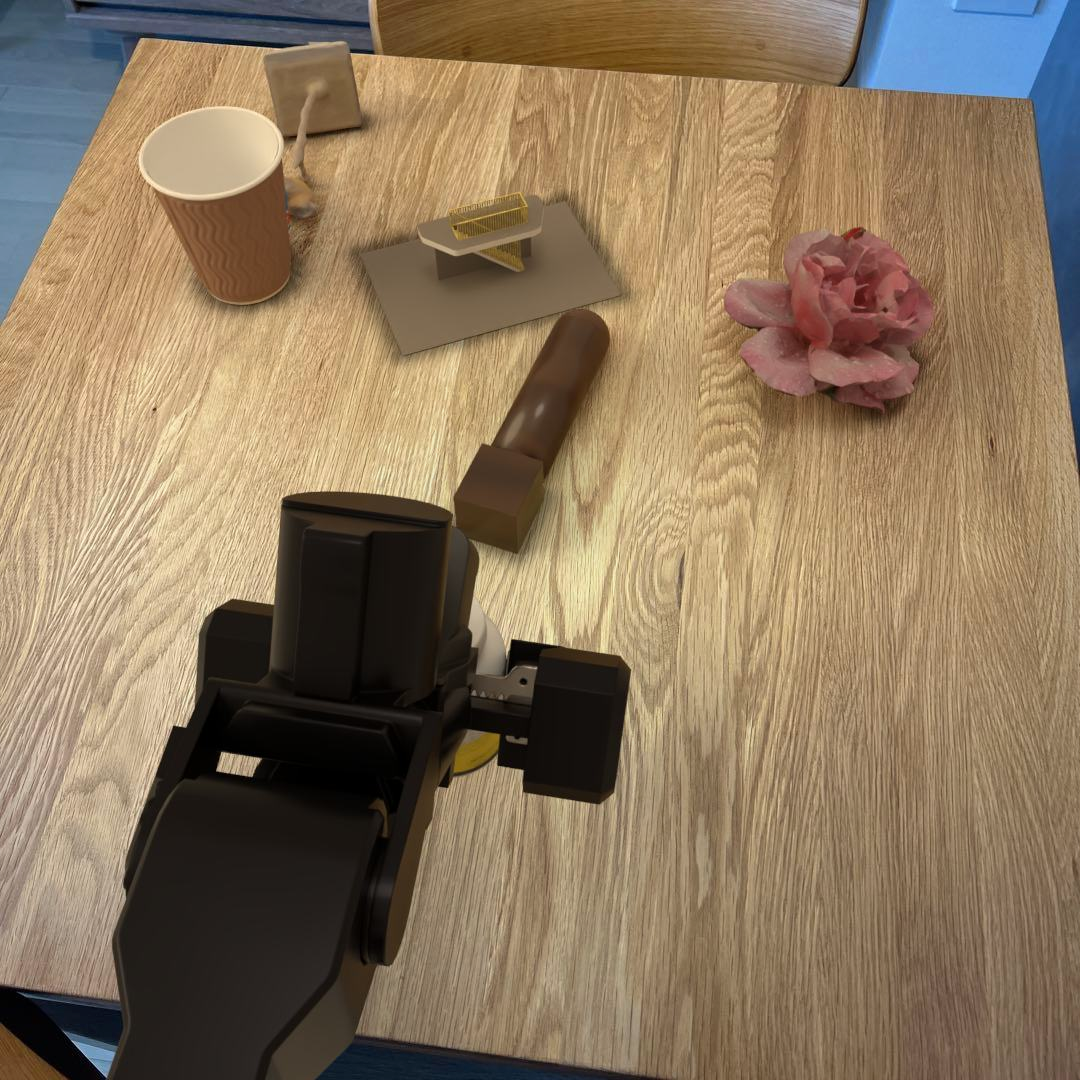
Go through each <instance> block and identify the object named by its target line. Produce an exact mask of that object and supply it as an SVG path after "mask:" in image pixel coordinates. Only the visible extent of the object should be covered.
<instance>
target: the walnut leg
mask: <svg viewBox="0 0 1080 1080" xmlns="http://www.w3.org/2000/svg"><path fill="white" fill-rule="evenodd" d="M610 344H611V333H610V329H609V327H608V324H607V322H606V321H605V319H603V317H602V316H601V315H600V314H598V313H597V312H595V311H593V310H591V309H587V308H573V309H570V310H568V311H566V312H565V313H563V314H562V315H561V316H560V317H559V318H558V319H557V320H556V322H555V323H554V324H553V326H552V328H551V330H550V332H549V334H548V336H547V338H546V340H545V341H544V344H543V345H542V348H541V349H540V351H539V353H538V355H537V357H536V359H535V361H534V362H533V364H532V366H531V368H530V370H529V371H528V374H527V376H526V377H525V380H524V381H523V384H522V385H521V387H520V389H519V391H518V393H517V395H516V396H515V399H514V400H513V402H512V404H511V406H510V408H509V410H508V411H507V413H506V415H505V417H504V419H503V421H502V423H501V425H500V427H499V429H498V431H497V432H496V435H495V436H494V438H493V440H492V442H491V444H487V443H483V442H482V443H481V444H480V446H479V447H478V450H477V452H476V453H475V455H474V457H473V459H472V461H471V463H470V465H469V466H468V468H467V470H466V472H465V474H464V476H463V478H462V479H461V482H460V484H459V485H458V488H457V489H456V491H455V492H454V495H453V505H454V513H455V515H454V516H455V522H456V527H457V528H459V529H460V530H462V531H463V532H464V534H465V535H466V536H467V537H468V538H469V539H470V540H473V541H476V542H479V543H481V544H485V545H488V546H491V547H495V548H497V549H500V550H503V551H507V552H510V553H512V554H516V555H518V554H519V553H520V550H521V548H522V546H523V544H524V543H525V539H526V538H527V535H528V534H529V531H530V530H531V527H532V525H533V523H534V521H535V520H536V517H537V515H538V514H539V511H540V509H541V506H542V504H543V502H544V484H545V482H546V480H547V477H548V475H549V473H550V472H551V470H552V467H553V465H554V463H555V461H556V460H557V457H558V455H559V453H560V451H561V449H562V446H563V444H564V443H565V441H566V439H567V437H568V434H569V432H570V430H571V428H572V426H573V424H574V422H575V420H576V418H577V416H578V413H579V411H580V409H581V408H582V405H583V403H584V401H585V400H586V397H587V395H588V393H589V391H590V389H591V387H592V384H593V382H594V380H595V379H596V376H597V374H598V372H599V370H600V368H601V366H602V364H603V363H604V360H605V359H606V358H605V357H606V355H607V354H608V352H609V349H610V346H611V345H610Z"/></svg>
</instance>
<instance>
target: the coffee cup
mask: <svg viewBox="0 0 1080 1080" xmlns="http://www.w3.org/2000/svg"><path fill="white" fill-rule="evenodd" d="M284 151H285V141H284V136H282V134H281V132H280V130H279V127H278V125H276V124H275V123H274V122H273V121H272V120H271V119H269V118H268V117H267V116H265V115H263V114H262V113H260V112H257V111H255V110H252V109H248V108H244V107H240V106H239V107H238V106H229V105H217V106H216V105H215V106H206V107H201V108H196V109H192V110H188V111H186V112H185V111H184V112H183V113H180V114H177V115H175V116H173V117H171V118H169V119H167V120H166V121H164V122H163V123H161V124H159V125H158V126H157V127H155V129H154V130H152V131H151V133H150V134H148V135H147V137H146V138H145V140H144V142H143V143H142V145H141V147H140V151H139V153H138V168H139V171H140V173H141V175H142V177H143V178H144V180H145V181H146V182H147V183H148V184H149V185H150V186H151V187H152V190H153V191H154V193H155V195H156V198H157V199H158V201H159V203H160V205H161V207H162V209H163V211H164V212H165V215H166V217H167V219H168V221H169V223H170V225H171V226H172V229H173V230H174V232H175V234H176V236H177V238H178V240H179V242H180V244H181V247H182V248H183V250H184V252H185V253H186V256H187V257H188V260H189V262H190V263H191V266H192V267H193V269H194V272H195V273H196V275H197V277H198V279H199V281H200V282H201V284H202V285H204V288H205V289H206V291H207V292H208V293H209V294H210V295H211V296H212V297H213V298H215V299H217V301H220V302H222V303H225V304H230V305H239V306H243V305H244V306H247V305H253V304H259V303H261V302H263V301H267V300H268V299H270V298H272V297H274V296H275V295H277V294H278V293H279V292H280V291H282V289H284V287H286V285H287V283H288V281H289V280H290V276H291V264H292V250H291V240H290V232H289V231H290V229H291V220H290V215H289V212H288V204H287V197H286V189H285V183H284V176H285V175H284V166H283V165H284V164H283V156H284Z"/></svg>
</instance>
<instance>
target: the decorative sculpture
mask: <svg viewBox="0 0 1080 1080" xmlns="http://www.w3.org/2000/svg"><path fill="white" fill-rule="evenodd" d="M307 42H308V44H305V45H297V46H291V47H283V48H281V49H277V50H272V51H270V52H268V53H264V56H263V65H264V71H265V75H266V79H267V84H268V88H269V93H270V97H271V101H272V105H273V109H274V110H273V111H274V114H275V118H276V122H277V128H278V129H279V130H280V132H281V134H282V136H283V138H284V137H285V138H287V137H294V136H296V140H295V143H294V145H293V146H292V168H293V169H294V170H296V169H299V173H300V179H299V178H297V177H293V176H292V177H291V176H290V177H289V176H285V175H284V183H285V189H286V197H287V204H288V212H289V216H294V217H295V218H296V219H298V220H308V219H310V218H313V217H315V216H316V215H317V213H318V210H319V206H318V204H317V203H315V202H314V192H313V190H312V188H311V187H309V181H310V176H309V175H308V174H307V169H306V167H305V163H304V161H305V147H306V145H307V144H308V139H307V135H310V134H316V133H317V134H319V133H326V132H330V131H339V130H344V129H349V128H358V127H361V126H362V124H363V117H362V112H361V105H360V99H359V93H358V86H357V82H356V78H355V77H356V75H355V71H354V70H355V69H354V65H353V61H352V60H353V59H352V54H351V49H350V47H349V44H348V42H346V41H341V40H340V41H332V42H331V41H330V42H329V41H322V42H321V41H307Z"/></svg>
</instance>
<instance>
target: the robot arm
mask: <svg viewBox="0 0 1080 1080" xmlns="http://www.w3.org/2000/svg"><path fill="white" fill-rule="evenodd" d="M279 515H280V516H279V529H278V530H279V531H278V543H277V557H276V570H275V571H276V572H275V582H274V583H275V584H274V599H273V604H272V603H266V602H265V603H264V602H258V601H253V600H244V599H238V598H231V599H229V600H227V601H225V602H224V603H222V604H221V605H219V606H217V607H216V608H214V609H213V610H212V611H211V612H209V614H207V615H206V616H205V617H204V620H203V622H202V625H201V627H200V630H199V632H198V639H197V640H198V641H197V659H196V677H195V689H194V690H195V691H194V692H195V693H194V707H193V710H192V713H191V715H190V717H189V720H188V722H187V724H186V726H179V725H173V726H172V727H171V730H170V733H169V736H168V739H167V741H166V744H165V747H164V750H163V753H162V756H161V758H160V760H159V763H158V767H157V770H156V772H155V775H154V777H153V780H152V783H151V786H150V788H149V791H148V794H147V797H146V799H145V803H144V805H143V808H142V811H141V814H140V816H139V819H138V821H137V825H136V827H135V830H134V833H133V836H132V838H131V841H130V845H129V847H128V849H127V853H126V856H125V861H124V876H123V881H122V888H123V889H124V890H125V892H124V893H125V900H124V903H123V906H122V909H121V911H120V914H119V917H118V919H117V922H116V926H115V928H114V931H113V934H112V937H111V938H112V939H111V950H112V957H113V958H112V959H113V963H114V971H115V977H116V984H117V991H118V997H119V1004H120V1011H121V1016H122V1017H121V1018H122V1023H123V1030H122V1033H121V1036H120V1038H119V1041H118V1044H117V1047H116V1050H115V1054H114V1056H113V1059H112V1061H111V1064H110V1067H109V1070H108V1072H107V1075H106V1078H105V1080H316V1079H318V1078H319V1076H321V1074H323V1072H324V1071H325V1070H326V1069H328V1068H329V1066H331V1064H332V1063H333V1062H335V1060H337V1058H338V1057H340V1056H341V1055H342V1053H344V1052H345V1051H346V1050H347V1049H348V1048H349V1046H350V1045H351V1044H352V1043H353V1042H354V1039H355V1036H356V1034H357V1031H358V1028H359V1025H360V1023H361V1018H362V1015H363V1012H364V1008H365V1007H366V1002H367V999H368V996H369V993H370V989H371V986H372V983H373V980H374V977H375V973H376V970H377V967H378V966H383V967H388V968H389V967H390V966H393V964H394V962H395V961H396V959H397V957H398V955H399V951H400V949H401V946H402V943H403V939H404V936H405V934H406V933H405V932H406V929H407V925H408V921H409V916H410V912H411V907H412V901H413V897H414V891H415V886H416V882H417V878H418V877H417V876H418V871H419V867H420V861H421V857H422V852H423V846H424V841H425V838H426V837H425V836H426V832H427V830H428V828H429V826H430V825H431V823H432V821H433V818H434V817H433V816H434V808H435V798H436V791H437V790H438V788H444V789H449V788H450V787H451V784H452V783H453V780H454V778H453V775H454V765H455V756H456V753H457V751H458V749H459V747H460V745H461V744H462V742H463V740H464V738H465V736H466V734H467V732H468V729H469V730H475V731H481V732H488V733H494V734H500V735H499V746H498V755H497V756H496V757H497V758H496V766H497V767H501V768H507V769H512V770H521V771H523V772H522V773H523V774H522V793H523V794H530V795H536V796H543V797H549V798H555V799H559V800H565V801H567V800H568V801H572V802H580V803H586V804H590V805H591V804H592V805H598V806H600V805H601V804H603V803H604V802H605V801H606V800H608V799H609V798H610V797H611V796H612V795H614V794H615V791H616V785H617V777H618V771H619V770H618V769H619V764H620V763H619V762H620V755H621V748H622V741H623V740H622V739H623V734H624V727H625V719H626V714H627V713H626V712H627V705H628V697H629V689H630V683H631V675H632V668H630V666H629V665H628V663H627V662H626V661H625V660H624V658H623V657H622V656H621V655H620V654H619V655H618V654H612V653H605V652H599V651H591V650H586V649H585V650H584V649H578V648H571V647H566V646H563V645H556V644H550V643H543V642H538V641H537V642H536V641H529V640H522V639H516V638H510V644H509V646H510V647H509V649H508V650H507V654H506V656H507V663H506V672H505V676H499V675H492V674H486V673H479V672H476V668H477V659H478V650H479V648H476V647H471V645H472V636H473V635H472V632H471V630H470V629H469V628H468V626H469V620H470V613H471V607H472V601H473V595H474V596H475V588H476V582H477V576H478V574H479V567H480V553H479V550H478V548H477V547H476V546H475V544H474V542H472V541H471V539H469V538H468V537H467V536H466V535H465V534H464V532H463V531H462V530H460V529H459V528H457V526H456V525H453V522H454V521H453V519H454V514H453V513H452V512H451V511H450V510H448V509H446V508H444V507H442V506H440V505H436V504H433V503H430V502H426V501H423V500H418V499H414V498H407V497H401V496H396V495H389V494H381V493H372V492H371V493H370V492H362V491H361V492H358V491H343V490H342V491H341V490H340V491H336V490H334V491H333V490H330V491H328V490H327V491H326V490H324V491H322V490H321V491H306V492H305V491H304V492H296V493H293V494H288V495H285V496H283V497H282V498H281V504H280V514H279ZM473 690H475V691H476V695H477V696H475V695H471V694H472V692H473ZM482 692H485V696H486V697H482V696H480V695H481V694H482ZM491 693H493V694H494V698H489V697H490V695H491ZM500 694H502V695H503V700H501V699H498V698H499V696H500ZM222 753H224V754H231V755H237V756H243V757H248V758H257V759H261V760H260V761H259V762H258V764H257V765H256V767H255V769H254V771H253V773H252V775H251V776H249V775H243V774H236V773H230V772H224V771H218V768H219V767H218V766H219V762H220V758H221V755H222Z"/></svg>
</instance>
